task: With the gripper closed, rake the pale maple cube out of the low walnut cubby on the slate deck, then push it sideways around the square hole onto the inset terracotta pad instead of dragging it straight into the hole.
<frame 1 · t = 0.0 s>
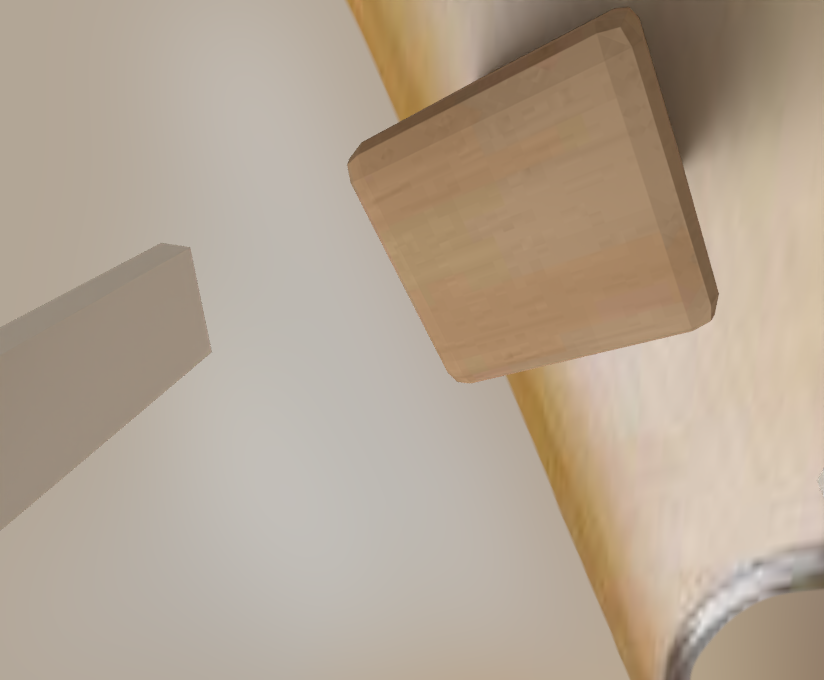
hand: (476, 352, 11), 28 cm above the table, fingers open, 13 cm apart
wooden block: (574, 126, 35), on the table
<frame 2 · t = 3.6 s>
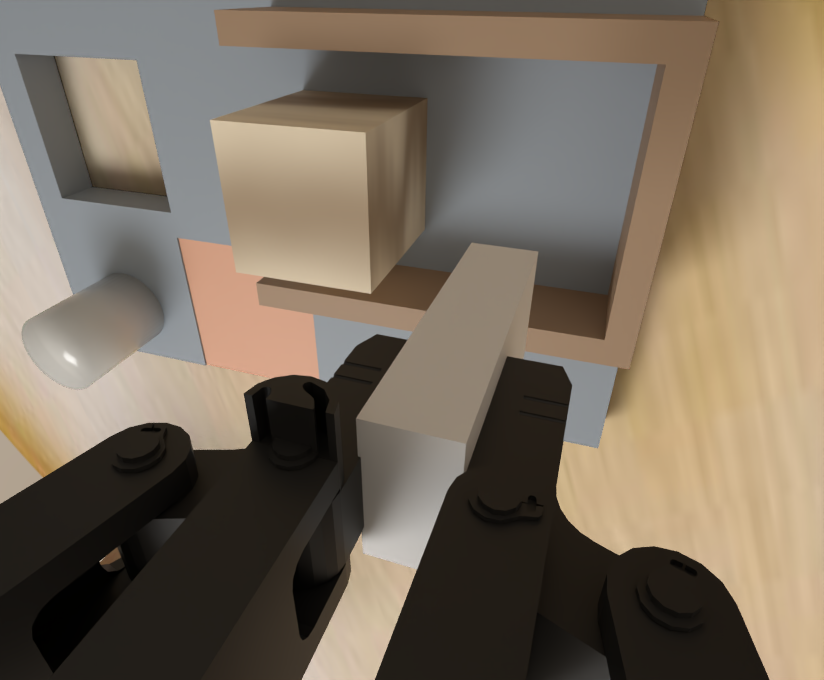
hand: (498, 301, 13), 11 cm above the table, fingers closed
slate deck with cubby: (332, 190, 26), on the table
grey stone cylinder: (132, 306, 31), point 2 cm above the table, touching slate deck with cubby
maple cube: (365, 161, 22), point 2 cm above the table, touching slate deck with cubby
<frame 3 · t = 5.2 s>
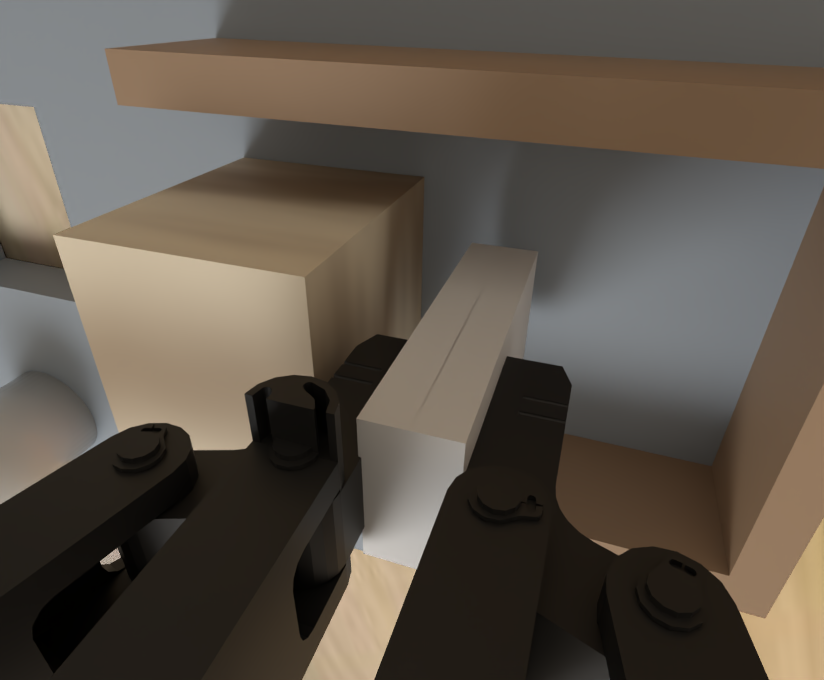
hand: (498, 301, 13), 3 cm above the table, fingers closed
slate deck with cubby: (313, 284, 19), on the table
grey stone cylinder: (56, 411, 24), point 2 cm above the table, touching slate deck with cubby
maple cube: (335, 259, 16), point 2 cm above the table, touching gripper
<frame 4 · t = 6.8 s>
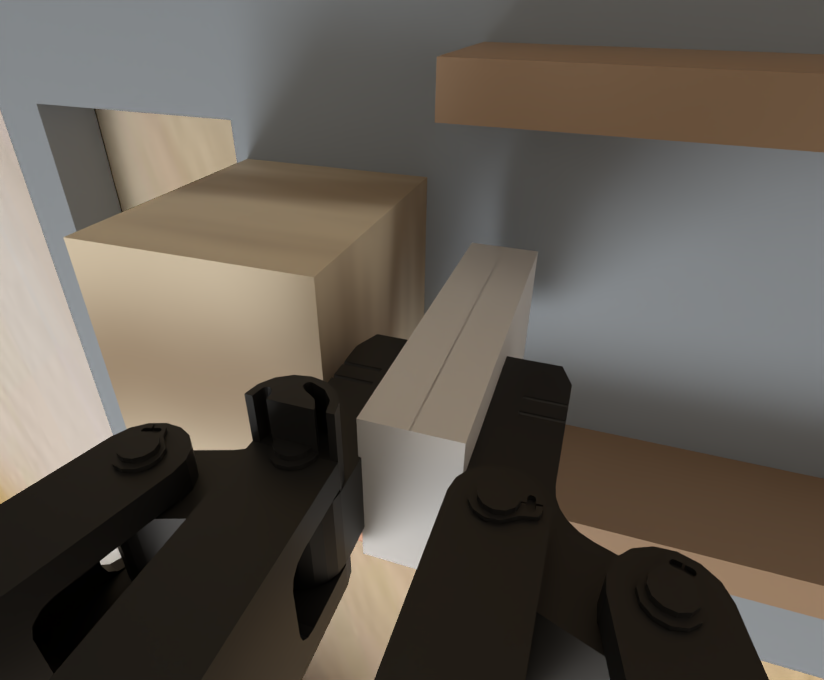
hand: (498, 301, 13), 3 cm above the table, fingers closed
slate deck with cubby: (511, 310, 17), on the table
maple cube: (338, 258, 16), point 2 cm above the table, touching gripper, slate deck with cubby
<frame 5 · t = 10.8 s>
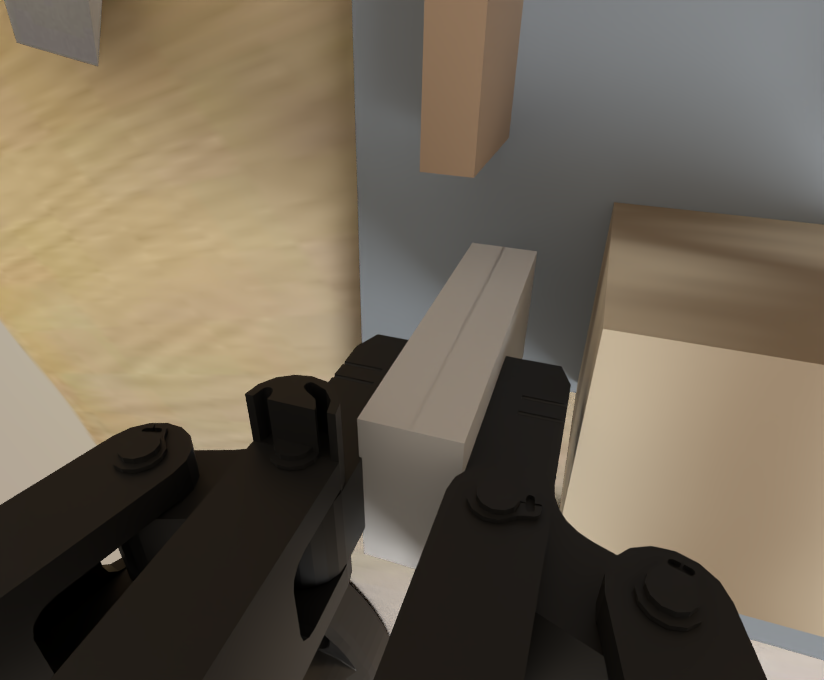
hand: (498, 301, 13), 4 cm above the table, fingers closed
slate deck with cubby: (816, 97, 12), on the table
maple cube: (703, 317, 13), point 2 cm above the table, touching gripper
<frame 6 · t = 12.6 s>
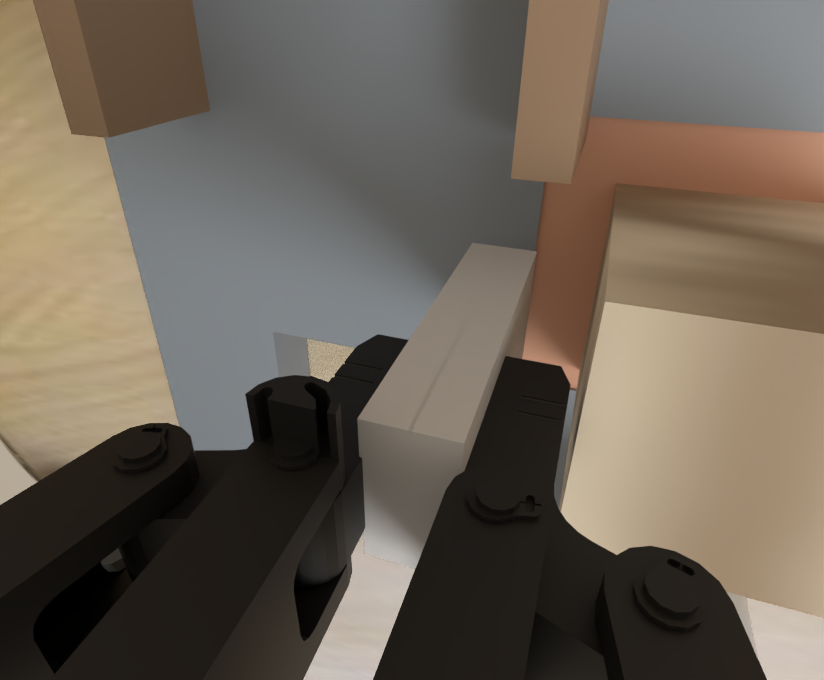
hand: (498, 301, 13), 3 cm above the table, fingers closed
slate deck with cubby: (464, 72, 14), on the table
grey stone cylinder: (654, 519, 17), point 2 cm above the table, touching slate deck with cubby
maple cube: (707, 301, 13), point 2 cm above the table, touching gripper, slate deck with cubby
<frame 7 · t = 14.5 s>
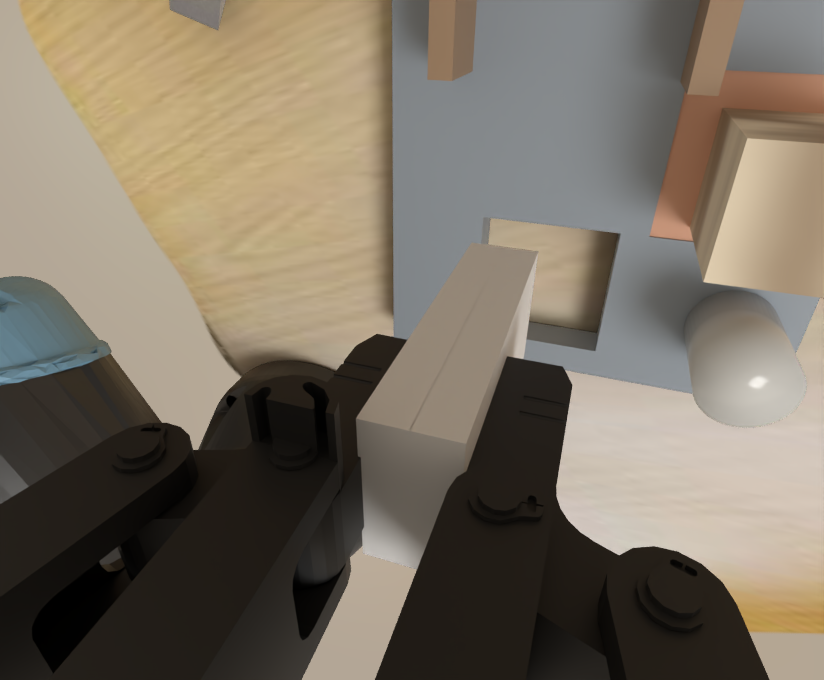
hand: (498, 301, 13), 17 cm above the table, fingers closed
slate deck with cubby: (626, 48, 24), on the table
grey stone cylinder: (730, 328, 27), point 2 cm above the table, touching slate deck with cubby
maple cube: (771, 176, 23), point 2 cm above the table, touching slate deck with cubby
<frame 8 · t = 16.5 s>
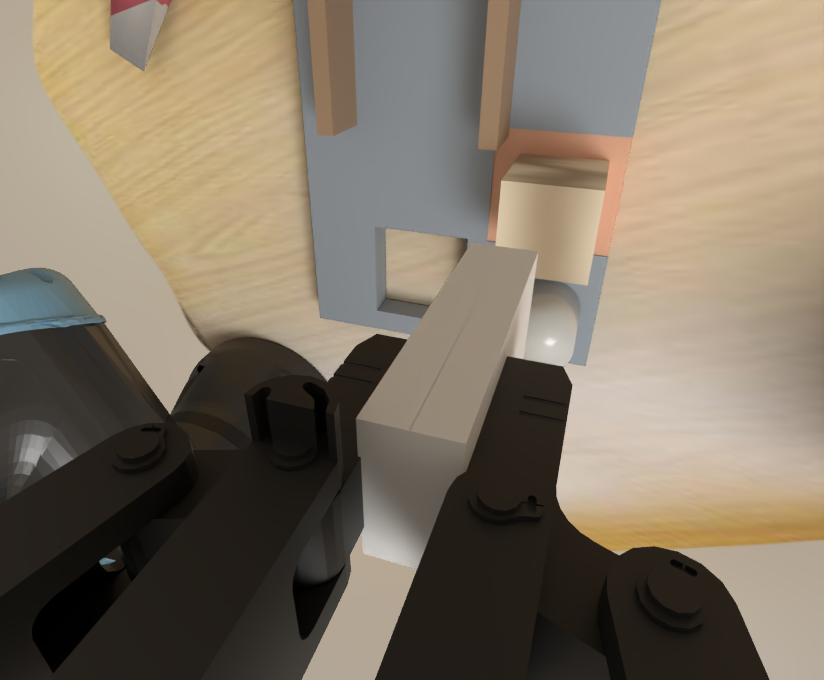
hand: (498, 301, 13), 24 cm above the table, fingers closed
slate deck with cubby: (463, 109, 35), on the table
grey stone cylinder: (549, 307, 37), point 2 cm above the table, touching slate deck with cubby
maple cube: (558, 199, 34), point 2 cm above the table, touching slate deck with cubby
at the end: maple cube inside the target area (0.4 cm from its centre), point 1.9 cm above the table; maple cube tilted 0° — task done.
